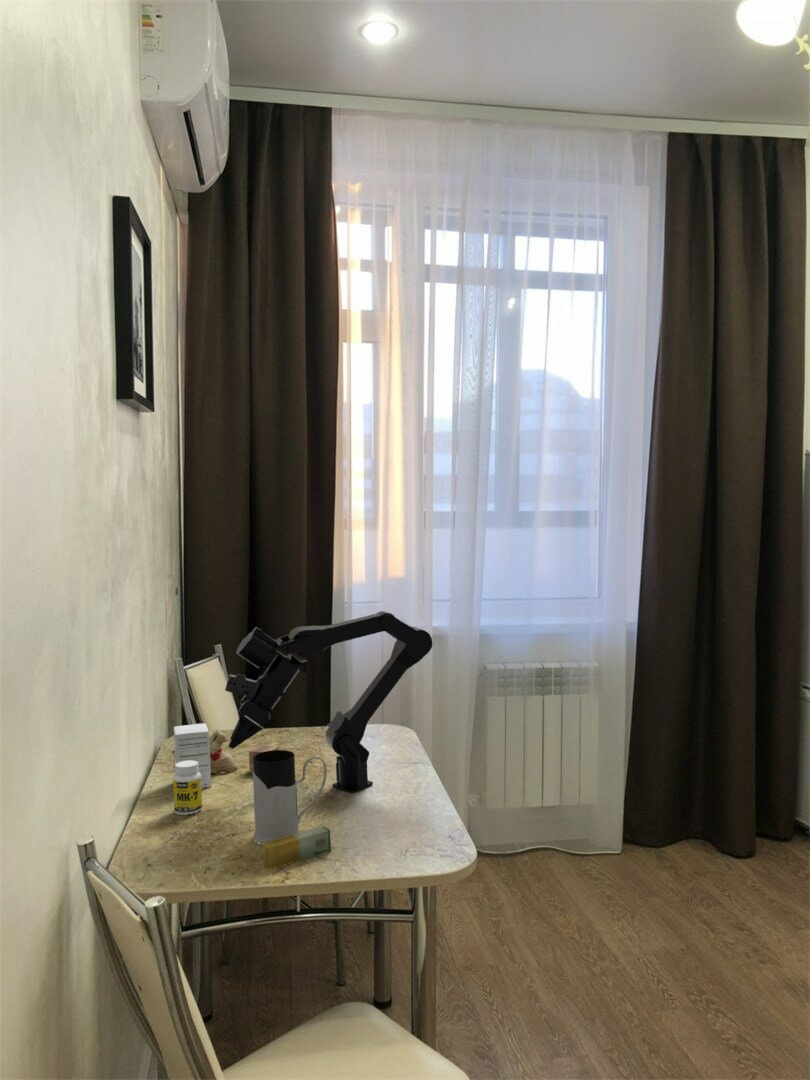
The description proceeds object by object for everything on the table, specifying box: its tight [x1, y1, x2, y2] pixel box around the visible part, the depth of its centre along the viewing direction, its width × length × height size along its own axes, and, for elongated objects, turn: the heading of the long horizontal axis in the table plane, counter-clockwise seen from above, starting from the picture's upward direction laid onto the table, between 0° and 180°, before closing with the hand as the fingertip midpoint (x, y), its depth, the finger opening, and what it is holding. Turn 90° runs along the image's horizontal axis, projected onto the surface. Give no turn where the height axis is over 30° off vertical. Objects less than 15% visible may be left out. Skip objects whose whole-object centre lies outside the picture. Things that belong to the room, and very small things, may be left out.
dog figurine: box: [209, 729, 239, 773], centre depth 190 cm, size 6×8×10 cm
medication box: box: [261, 825, 332, 870], centre depth 141 cm, size 12×3×4 cm, turn 123°
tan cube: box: [248, 744, 280, 773], centre depth 190 cm, size 5×5×5 cm
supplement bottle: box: [172, 760, 203, 816], centre depth 165 cm, size 6×6×10 cm
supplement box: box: [173, 722, 212, 789], centre depth 181 cm, size 7×7×13 cm
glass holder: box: [252, 749, 328, 845], centre depth 151 cm, size 9×14×15 cm, turn 111°
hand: (231, 743), depth 168 cm, fingers open, 9 cm apart
